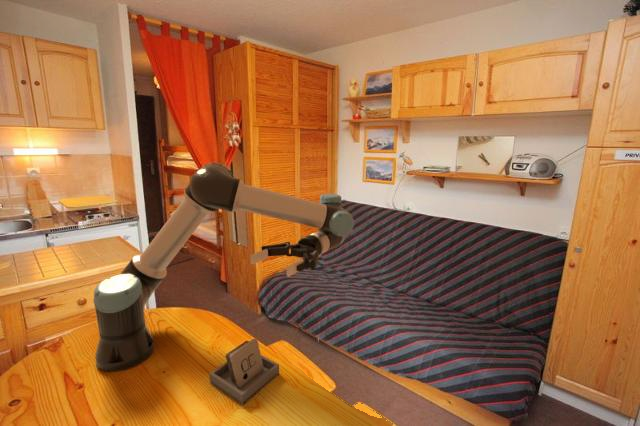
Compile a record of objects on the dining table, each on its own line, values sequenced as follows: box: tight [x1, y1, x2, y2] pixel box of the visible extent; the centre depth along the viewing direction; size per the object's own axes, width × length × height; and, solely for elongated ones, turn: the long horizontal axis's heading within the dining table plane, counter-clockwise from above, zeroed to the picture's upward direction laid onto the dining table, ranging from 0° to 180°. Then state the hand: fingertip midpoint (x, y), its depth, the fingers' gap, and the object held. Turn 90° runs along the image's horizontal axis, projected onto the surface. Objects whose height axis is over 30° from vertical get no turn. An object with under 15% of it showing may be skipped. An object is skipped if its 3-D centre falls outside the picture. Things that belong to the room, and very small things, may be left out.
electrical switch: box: [225, 338, 264, 388], centre depth 89 cm, size 9×5×9 cm, turn 146°
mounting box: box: [209, 354, 280, 406], centre depth 90 cm, size 13×14×3 cm
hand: (268, 265), depth 91 cm, fingers open, 13 cm apart
